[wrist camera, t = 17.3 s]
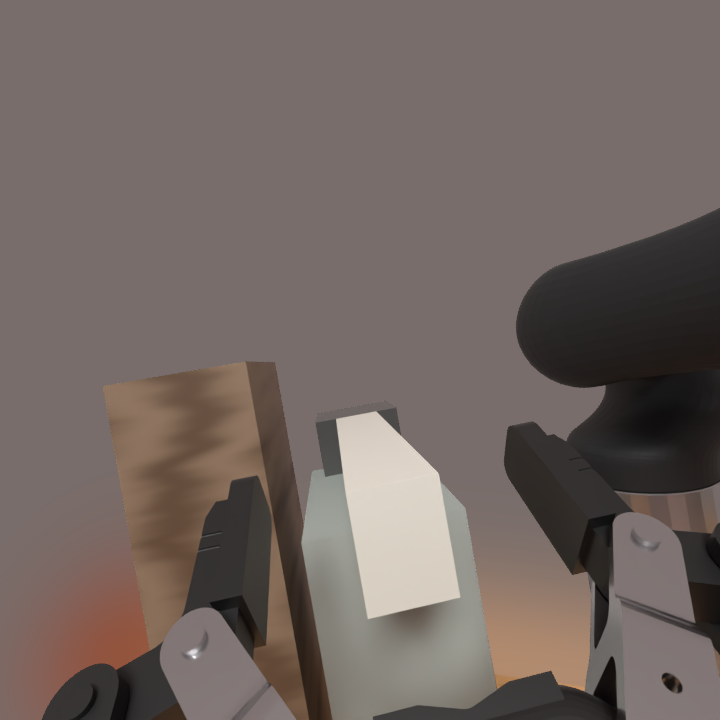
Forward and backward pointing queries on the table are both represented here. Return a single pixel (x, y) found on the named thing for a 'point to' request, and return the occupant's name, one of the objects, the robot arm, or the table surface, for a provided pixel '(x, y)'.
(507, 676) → the table surface
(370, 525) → the bar
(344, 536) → the pale green block
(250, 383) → the brown tall block
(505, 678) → the table surface
